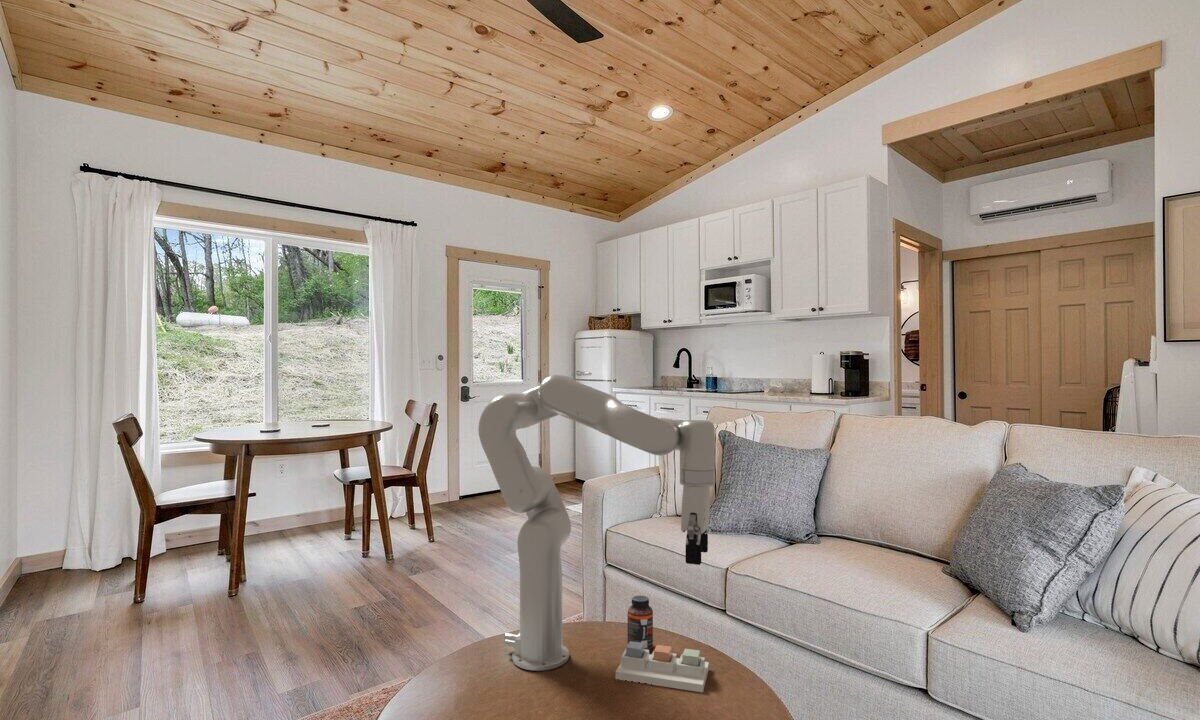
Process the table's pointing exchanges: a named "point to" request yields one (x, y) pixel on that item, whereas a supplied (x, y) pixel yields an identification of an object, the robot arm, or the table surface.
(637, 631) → the supplement bottle
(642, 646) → the slate button
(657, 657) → the terracotta button
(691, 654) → the sage button
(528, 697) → the table surface
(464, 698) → the table surface
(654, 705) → the table surface
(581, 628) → the table surface
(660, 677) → the button console
